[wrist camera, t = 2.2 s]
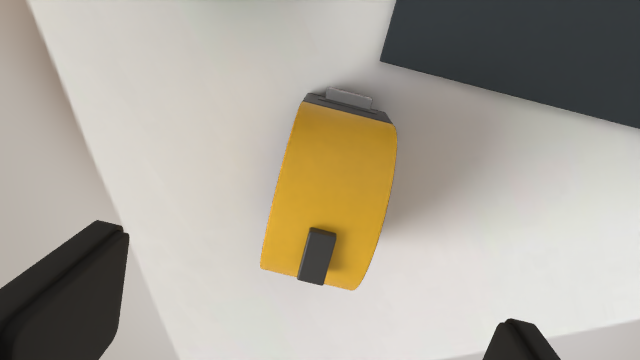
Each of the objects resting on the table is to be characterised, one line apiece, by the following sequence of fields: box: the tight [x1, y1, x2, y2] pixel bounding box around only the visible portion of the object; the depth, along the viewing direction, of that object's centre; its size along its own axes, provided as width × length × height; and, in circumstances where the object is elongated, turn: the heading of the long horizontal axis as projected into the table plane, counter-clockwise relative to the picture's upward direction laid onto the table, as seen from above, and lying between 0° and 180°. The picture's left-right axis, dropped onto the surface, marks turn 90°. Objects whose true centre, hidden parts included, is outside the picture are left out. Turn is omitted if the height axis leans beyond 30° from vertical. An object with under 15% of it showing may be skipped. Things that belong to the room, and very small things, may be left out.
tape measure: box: [260, 87, 397, 290], centre depth 19 cm, size 8×4×8 cm, turn 166°
